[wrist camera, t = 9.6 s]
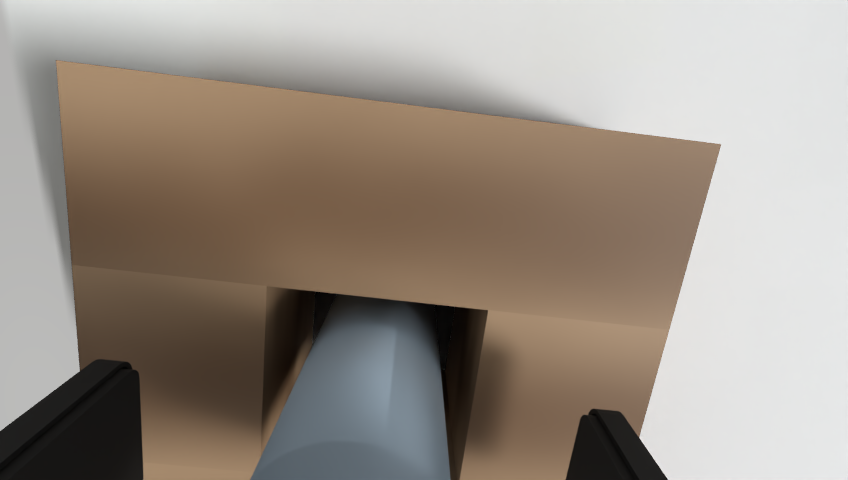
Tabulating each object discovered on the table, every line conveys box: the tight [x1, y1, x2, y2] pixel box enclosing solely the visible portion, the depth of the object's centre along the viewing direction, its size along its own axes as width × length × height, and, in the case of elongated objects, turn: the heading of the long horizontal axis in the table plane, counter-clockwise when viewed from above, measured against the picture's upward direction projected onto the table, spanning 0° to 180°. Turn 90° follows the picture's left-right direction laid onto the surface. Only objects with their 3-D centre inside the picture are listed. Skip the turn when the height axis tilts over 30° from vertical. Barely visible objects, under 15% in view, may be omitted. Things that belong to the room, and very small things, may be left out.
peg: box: [250, 294, 451, 480], centre depth 12 cm, size 4×4×10 cm
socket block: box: [56, 60, 721, 480], centre depth 14 cm, size 14×14×6 cm
